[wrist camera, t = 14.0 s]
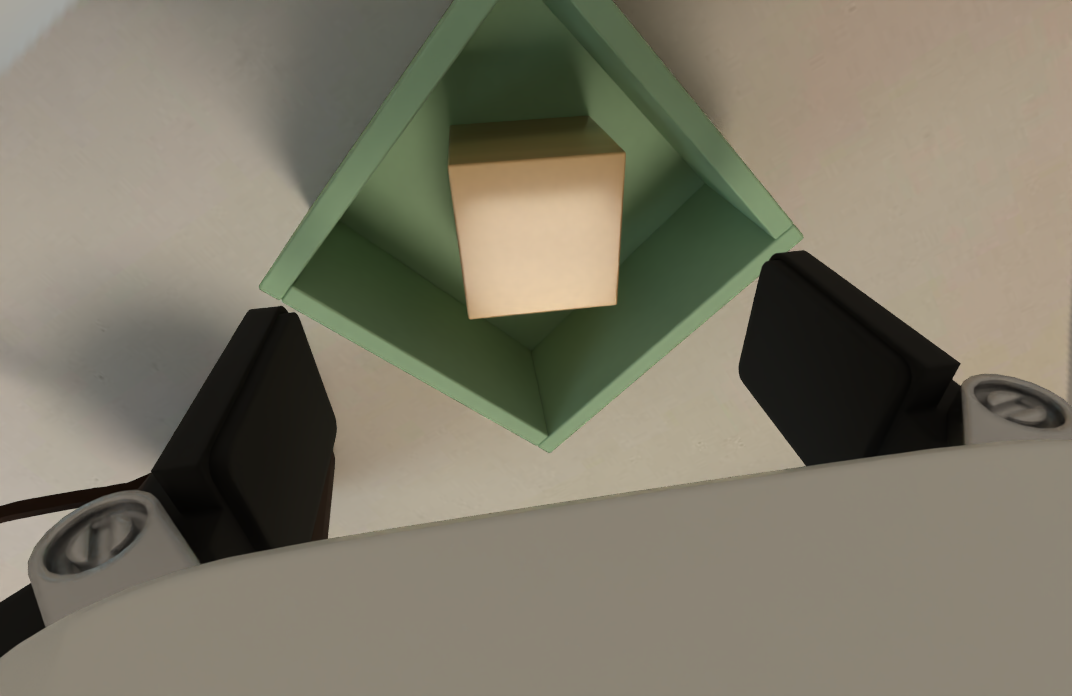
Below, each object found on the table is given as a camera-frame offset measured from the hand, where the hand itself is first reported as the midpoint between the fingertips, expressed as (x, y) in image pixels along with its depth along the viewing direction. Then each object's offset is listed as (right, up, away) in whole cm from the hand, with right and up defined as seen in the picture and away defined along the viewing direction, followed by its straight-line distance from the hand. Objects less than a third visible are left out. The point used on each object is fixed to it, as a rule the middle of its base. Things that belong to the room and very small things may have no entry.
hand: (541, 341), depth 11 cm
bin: (-1, +5, +7) cm, 9 cm away
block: (-1, +5, +7) cm, 9 cm away
